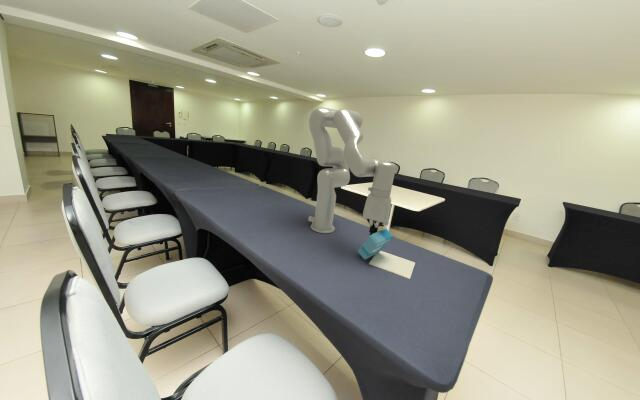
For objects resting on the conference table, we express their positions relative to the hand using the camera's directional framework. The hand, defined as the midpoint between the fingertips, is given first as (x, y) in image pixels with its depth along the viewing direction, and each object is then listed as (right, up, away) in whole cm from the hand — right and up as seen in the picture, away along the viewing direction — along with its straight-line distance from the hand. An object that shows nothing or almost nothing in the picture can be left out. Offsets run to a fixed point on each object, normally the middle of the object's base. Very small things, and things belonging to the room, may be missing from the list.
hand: (372, 234), depth 100 cm
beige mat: (+8, -12, -2) cm, 14 cm away
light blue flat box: (-1, -8, +3) cm, 9 cm away
